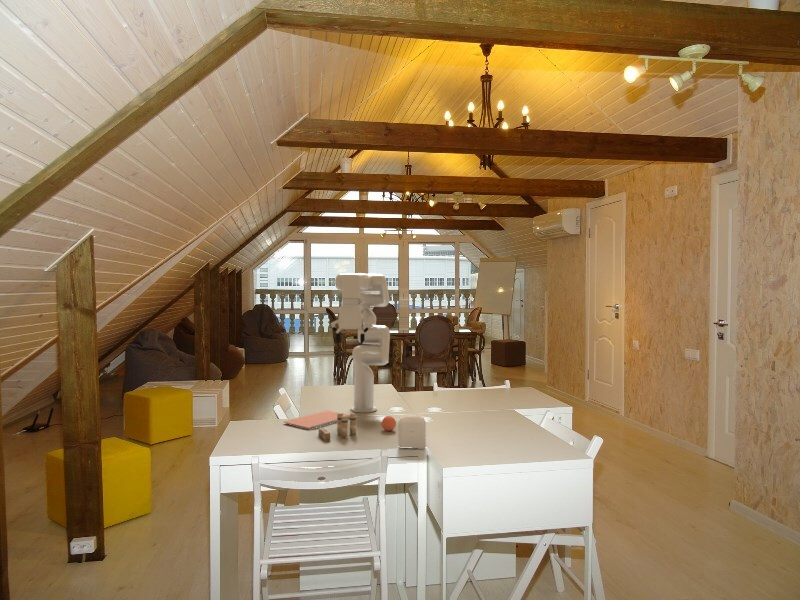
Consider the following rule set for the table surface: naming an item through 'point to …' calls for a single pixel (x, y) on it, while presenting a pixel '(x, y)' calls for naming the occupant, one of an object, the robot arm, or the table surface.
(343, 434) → the rear pin
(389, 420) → the ball
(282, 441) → the table surface
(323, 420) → the notebook
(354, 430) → the front pin
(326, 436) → the block
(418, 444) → the photo printer
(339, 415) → the rear pin
